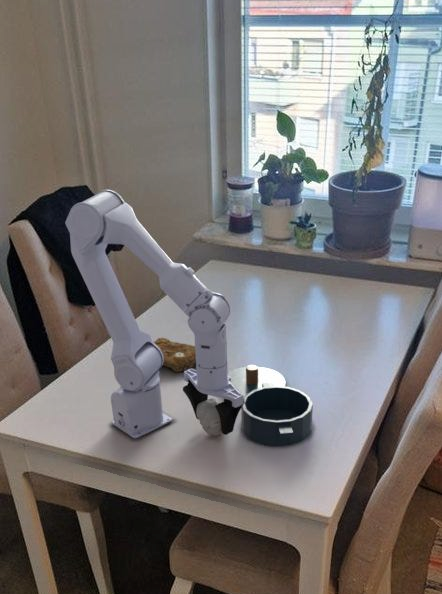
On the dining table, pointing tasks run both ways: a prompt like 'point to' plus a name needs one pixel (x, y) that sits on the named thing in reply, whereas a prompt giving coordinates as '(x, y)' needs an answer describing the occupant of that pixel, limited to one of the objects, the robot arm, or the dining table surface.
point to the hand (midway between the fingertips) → (214, 424)
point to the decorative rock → (177, 354)
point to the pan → (276, 415)
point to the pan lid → (254, 378)
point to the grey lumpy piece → (209, 417)
